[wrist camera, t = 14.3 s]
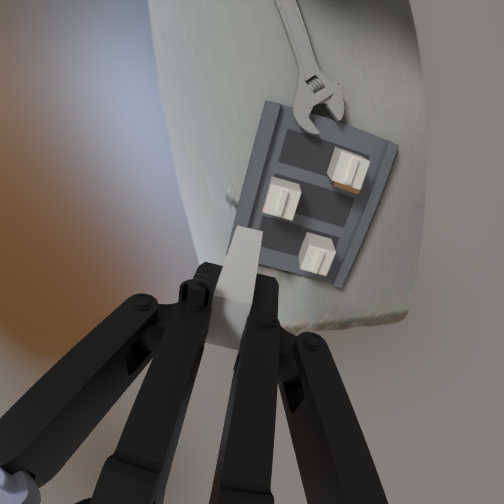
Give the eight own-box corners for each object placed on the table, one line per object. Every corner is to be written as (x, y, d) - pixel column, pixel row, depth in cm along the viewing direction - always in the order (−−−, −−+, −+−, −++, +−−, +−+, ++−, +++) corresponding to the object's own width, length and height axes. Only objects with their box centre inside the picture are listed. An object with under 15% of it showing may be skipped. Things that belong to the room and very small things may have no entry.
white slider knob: (271, 176, 36) (270, 185, 32) (299, 184, 37) (301, 193, 33) (264, 202, 38) (262, 214, 34) (291, 209, 38) (292, 222, 34)
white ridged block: (306, 231, 39) (309, 246, 35) (331, 238, 40) (336, 254, 36) (298, 254, 41) (300, 271, 37) (322, 261, 41) (326, 278, 37)
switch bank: (265, 100, 34) (265, 99, 32) (395, 144, 34) (401, 146, 32) (227, 251, 44) (225, 258, 42) (341, 281, 44) (344, 289, 42)
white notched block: (334, 146, 34) (342, 151, 30) (361, 156, 34) (371, 162, 30) (326, 173, 36) (332, 181, 32) (352, 181, 36) (361, 191, 32)
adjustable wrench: (260, -32, 24) (259, -38, 23) (307, -35, 24) (309, -41, 22) (296, 134, 34) (297, 134, 32) (346, 128, 33) (350, 129, 31)
